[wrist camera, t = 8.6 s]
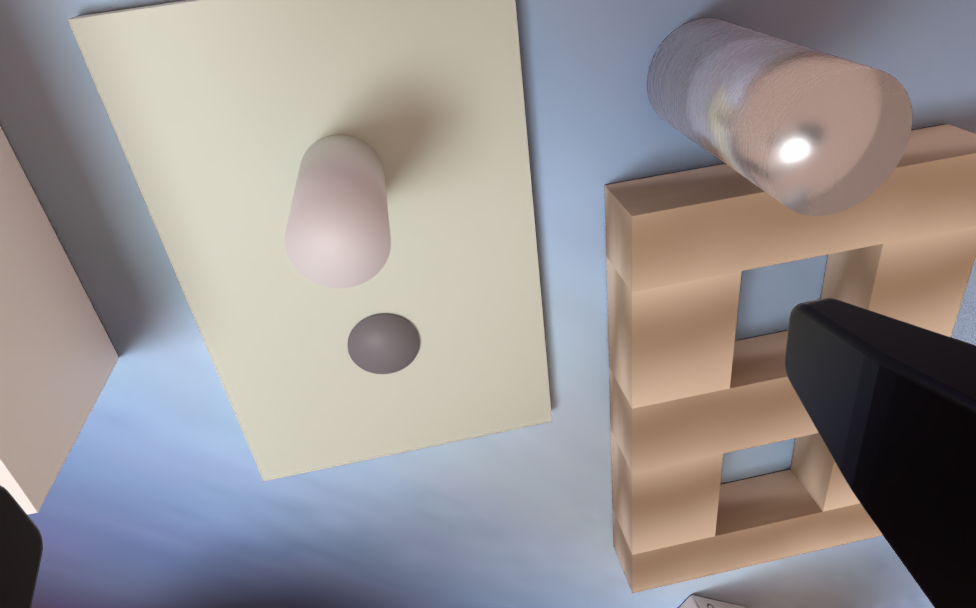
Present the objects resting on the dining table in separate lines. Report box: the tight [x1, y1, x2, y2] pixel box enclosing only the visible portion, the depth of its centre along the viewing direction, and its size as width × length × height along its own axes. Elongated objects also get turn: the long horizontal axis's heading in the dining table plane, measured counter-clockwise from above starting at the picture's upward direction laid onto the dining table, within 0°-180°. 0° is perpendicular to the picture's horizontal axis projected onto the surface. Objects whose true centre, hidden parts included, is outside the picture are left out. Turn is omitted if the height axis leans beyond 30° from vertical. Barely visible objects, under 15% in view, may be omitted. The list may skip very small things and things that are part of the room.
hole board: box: [605, 124, 976, 593], centre depth 26 cm, size 18×12×2 cm, turn 7°
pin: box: [647, 18, 912, 216], centre depth 17 cm, size 3×3×7 cm
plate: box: [68, 0, 552, 481], centre depth 19 cm, size 16×11×5 cm
